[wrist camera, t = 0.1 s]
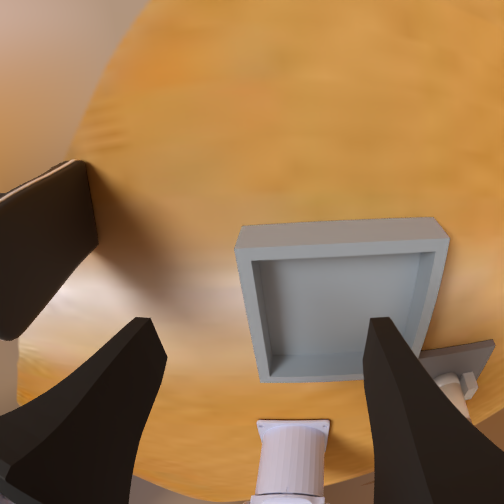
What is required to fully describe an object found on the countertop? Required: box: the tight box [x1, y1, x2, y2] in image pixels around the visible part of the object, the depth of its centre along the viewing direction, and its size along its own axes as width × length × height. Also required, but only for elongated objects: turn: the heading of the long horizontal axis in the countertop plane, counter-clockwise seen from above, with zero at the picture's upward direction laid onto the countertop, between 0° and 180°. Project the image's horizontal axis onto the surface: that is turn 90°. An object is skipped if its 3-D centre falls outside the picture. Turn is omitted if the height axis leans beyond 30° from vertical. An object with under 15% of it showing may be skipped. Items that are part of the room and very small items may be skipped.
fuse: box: [433, 372, 472, 423], centre depth 21 cm, size 3×3×6 cm
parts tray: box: [234, 217, 450, 383], centre depth 20 cm, size 12×12×3 cm
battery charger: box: [0, 159, 99, 341], centre depth 15 cm, size 7×4×11 cm, turn 178°
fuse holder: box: [418, 339, 496, 400], centre depth 23 cm, size 9×9×3 cm
